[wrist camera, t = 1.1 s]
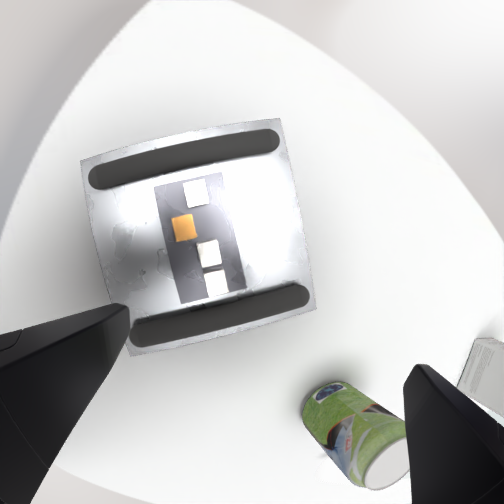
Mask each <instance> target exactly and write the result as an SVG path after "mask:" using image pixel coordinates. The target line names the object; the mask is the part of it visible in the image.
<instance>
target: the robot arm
mask: <svg viewBox="0 0 504 504" xmlns="http://www.w3.org/2000/svg"><path fill="white" fill-rule="evenodd" d="M130 329H131V326H130V311H129V307H128V306H126V305H123V304H120V303H113V304H109V305H106V306H102V307H99V308H95V309H92V310H88V311H85V312H81V313H78V314H74V315H71V316H67V317H64V318H60V319H57V320H53V321H49V322H46V323H42V324H39V325H35V326H31V327H28V328H24V329H23V330H22V329H20V330H17V331H13V332H9V333H5V334H1V335H0V504H30V503H31V501H32V499H33V497H34V495H35V494H36V492H37V490H38V488H39V486H40V485H41V483H42V481H43V479H44V477H45V475H46V474H47V472H48V470H49V469H48V468H50V467H51V465H52V463H53V461H54V460H55V458H56V456H57V455H58V453H59V451H60V450H61V448H62V446H63V445H64V443H65V441H66V440H67V438H68V436H69V435H70V433H71V431H72V430H73V428H74V427H75V425H76V423H77V422H78V420H79V419H80V417H81V415H82V414H83V412H84V411H85V409H86V407H87V406H88V404H89V403H90V401H91V400H92V398H93V397H94V395H95V393H96V392H97V390H98V389H99V387H100V386H101V384H102V383H103V381H104V380H105V378H106V377H107V375H108V374H109V372H110V370H111V369H112V367H113V365H114V363H115V361H116V359H117V357H118V355H119V353H120V351H121V349H122V347H123V345H124V344H125V342H126V340H127V338H128V336H129V334H130ZM403 395H404V413H405V431H406V440H407V448H408V457H409V467H410V478H411V493H412V504H504V427H503V426H502V425H501V424H499V423H497V421H496V420H495V419H493V418H492V417H491V416H490V415H489V414H487V413H486V412H485V411H484V410H483V409H481V408H480V407H479V406H478V405H477V404H475V403H474V402H473V401H472V400H471V399H469V398H468V397H467V396H466V395H465V394H463V393H462V392H461V391H460V390H458V389H457V388H456V387H455V386H454V385H452V384H451V383H450V382H449V381H447V380H446V379H445V378H444V377H442V376H441V375H440V374H439V373H438V372H436V371H435V370H434V369H433V368H431V367H430V366H429V365H427V364H416V365H415V366H414V367H413V369H412V371H411V373H410V374H409V376H408V378H407V380H406V381H405V383H404V387H403Z"/></svg>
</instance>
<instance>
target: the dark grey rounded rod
mask: <svg viewBox="0 0 504 504" xmlns="http://www.w3.org/2000/svg"><path fill="white" fill-rule="evenodd" d="M309 299H310V293H309V291H308V289H307V288H306V287H305V286H303V285H294V286H290V287H286V288H283V289H279V290H276V291H272V292H268V293H264V294H261V295H257V296H253V297H249V298H246V299H242V300H238V301H234V302H230V303H226V304H222V305H218V306H214V307H210V308H206V309H202V310H198V311H194V312H189V313H185V314H181V315H177V316H172V317H168V318H164V319H159V320H155V321H150V322H146V323H141V324H137V325H134V326H133V327H132V328H131V329H130V334H129V339H130V341H131V343H132V344H133V345H134V346H136V347H139V348H143V347H148V346H153V345H158V344H163V343H167V342H172V341H176V340H181V339H185V338H189V337H194V336H198V335H202V334H206V333H210V332H214V331H218V330H222V329H226V328H230V327H234V326H238V325H242V324H245V323H249V322H253V321H256V320H260V319H264V318H267V317H271V316H274V315H278V314H281V313H284V312H288V311H291V310H295V309H298V308H301V307H304V306H305V305H306V304H307V303H308V302H309Z"/></svg>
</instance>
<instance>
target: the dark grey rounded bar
mask: <svg viewBox="0 0 504 504" xmlns="http://www.w3.org/2000/svg"><path fill="white" fill-rule="evenodd" d="M279 144H280V137H279V135H278V133H277V132H276V131H274V130H272V129H260V130H252V131H245V132H239V133H232V134H226V135H220V136H215V137H209V138H204V139H199V140H194V141H189V142H184V143H179V144H175V145H170V146H166V147H162V148H157V149H153V150H149V151H145V152H141V153H138V154H134V155H130V156H127V157H123V158H119V159H116V160H113V161H109V162H106V163H103V164H99V165H96V166H94V167H93V168H92V169H91V170H90V172H89V174H88V181H89V184H90V185H91V187H93V188H94V189H97V190H101V189H105V188H108V187H112V186H115V185H119V184H122V183H126V182H130V181H133V180H137V179H141V178H145V177H149V176H153V175H157V174H161V173H165V172H169V171H174V170H178V169H182V168H187V167H192V166H196V165H201V164H206V163H211V162H216V161H221V160H226V159H232V158H238V157H243V156H249V155H255V154H262V153H268V152H272V151H274V150H276V149H277V148H278V146H279Z"/></svg>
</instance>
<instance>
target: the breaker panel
mask: <svg viewBox="0 0 504 504" xmlns="http://www.w3.org/2000/svg"><path fill="white" fill-rule="evenodd" d="M260 129H272V130H274V131H276V132H277V133H278V135H279V137H280V144H279V146H278V148H277V149H276V150H274V151H272V152H268V153H262V154H255V155H249V156H243V157H238V158H232V159H226V160H221V161H216V162H211V163H206V164H201V165H196V166H192V167H187V168H182V169H178V170H174V171H169V172H165V173H161V174H157V175H153V176H149V177H145V178H141V179H137V180H133V181H130V182H126V183H122V184H119V185H115V186H112V187H108V188H105V189H101V190H97V189H94V188H93V187H91V185H90V184H89V181H88V174H89V172H90V170H91V169H92V168H93V167H94V166H96V165H99V164H103V163H106V162H109V161H113V160H116V159H119V158H123V157H127V156H130V155H134V154H138V153H141V152H145V151H149V150H153V149H157V148H162V147H166V146H170V145H175V144H179V143H184V142H189V141H194V140H199V139H204V138H209V137H215V136H220V135H226V134H232V133H239V132H245V131H252V130H260ZM80 163H81V171H82V178H83V184H84V190H85V196H86V202H87V207H88V213H89V218H90V223H91V227H92V232H93V236H94V241H95V245H96V249H97V253H98V257H99V261H100V265H101V268H102V272H103V276H104V279H105V283H106V286H107V290H108V293H109V296H110V299H111V303H112V304H113V303H120V304H123V305H126V306H128V307H129V311H130V326H131V328H132V327H133V326H134V325H137V324H141V323H146V322H150V321H155V320H159V319H164V318H168V317H172V316H177V315H181V314H185V313H189V312H194V311H198V310H202V309H206V308H210V307H214V306H218V305H222V304H226V303H230V302H234V301H238V300H242V299H246V298H249V297H253V296H257V295H261V294H264V293H268V292H272V291H276V290H279V289H283V288H286V287H290V286H294V285H303V286H305V287H306V288H307V289H308V291H309V293H310V299H309V302H308V303H307V304H306V305H305V306H304V307H301V308H298V309H295V310H291V311H288V312H284V313H281V314H278V315H274V316H271V317H267V318H264V319H260V320H256V321H253V322H249V323H245V324H242V325H238V326H234V327H230V328H226V329H222V330H218V331H214V332H210V333H206V334H202V335H198V336H194V337H189V338H185V339H181V340H176V341H172V342H167V343H163V344H158V345H153V346H148V347H143V348H139V347H136V346H134V345H133V344H132V343H131V341H130V339H129V336H128V338H127V340H126V342H125V343H126V346H127V348H128V351H129V353H130V356H136V355H141V354H146V353H151V352H156V351H161V350H165V349H170V348H175V347H179V346H183V345H188V344H192V343H196V342H201V341H205V340H209V339H213V338H217V337H221V336H225V335H229V334H233V333H236V332H240V331H244V330H248V329H251V328H255V327H259V326H262V325H266V324H269V323H273V322H276V321H280V320H283V319H286V318H290V317H293V316H296V315H300V314H303V313H306V312H309V311H312V310H315V309H316V302H315V295H314V289H313V282H312V276H311V270H310V264H309V258H308V252H307V246H306V241H305V235H304V230H303V224H302V219H301V214H300V208H299V203H298V198H297V193H296V188H295V183H294V178H293V174H292V169H291V164H290V160H289V155H288V151H287V146H286V142H285V137H284V133H283V129H282V125H281V120H280V118H275V119H266V120H258V121H250V122H243V123H236V124H229V125H223V126H217V127H211V128H206V129H200V130H195V131H190V132H185V133H180V134H176V135H171V136H167V137H162V138H158V139H154V140H150V141H146V142H142V143H138V144H134V145H131V146H127V147H123V148H120V149H116V150H113V151H110V152H106V153H103V154H100V155H97V156H94V157H90V158H87V159H84V160H81V161H80Z"/></svg>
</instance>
